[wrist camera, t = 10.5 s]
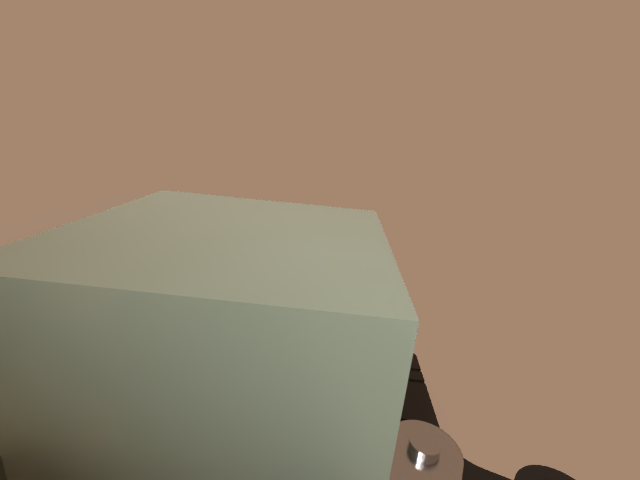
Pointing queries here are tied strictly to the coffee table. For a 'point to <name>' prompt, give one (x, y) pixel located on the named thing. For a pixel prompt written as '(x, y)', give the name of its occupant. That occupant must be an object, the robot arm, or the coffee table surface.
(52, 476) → the tall sage green block
